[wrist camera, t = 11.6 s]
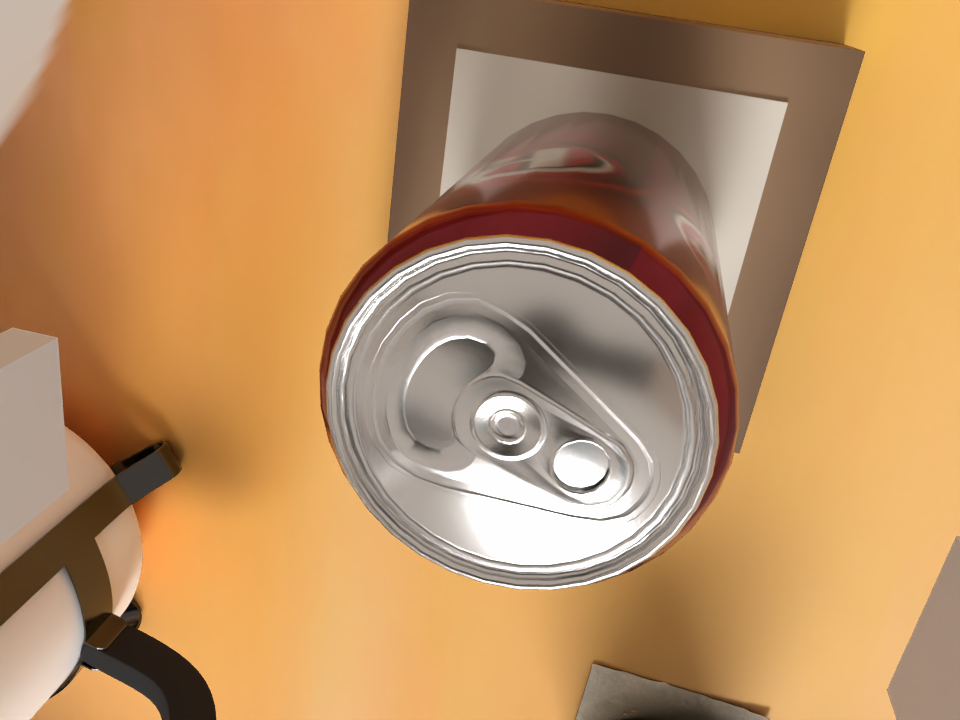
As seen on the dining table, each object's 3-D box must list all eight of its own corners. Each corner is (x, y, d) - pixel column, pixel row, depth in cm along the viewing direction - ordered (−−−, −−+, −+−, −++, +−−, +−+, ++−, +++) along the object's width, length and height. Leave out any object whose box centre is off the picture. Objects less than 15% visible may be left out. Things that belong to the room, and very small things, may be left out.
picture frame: (402, 338, 31) (375, 373, 28) (439, -19, 26) (409, -19, 23) (733, 410, 29) (739, 454, 26) (844, 44, 24) (865, 52, 21)
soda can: (421, 266, 26) (241, 462, 15) (547, 55, 23) (432, 115, 12) (616, 394, 26) (573, 673, 16) (768, 203, 23) (847, 391, 12)
